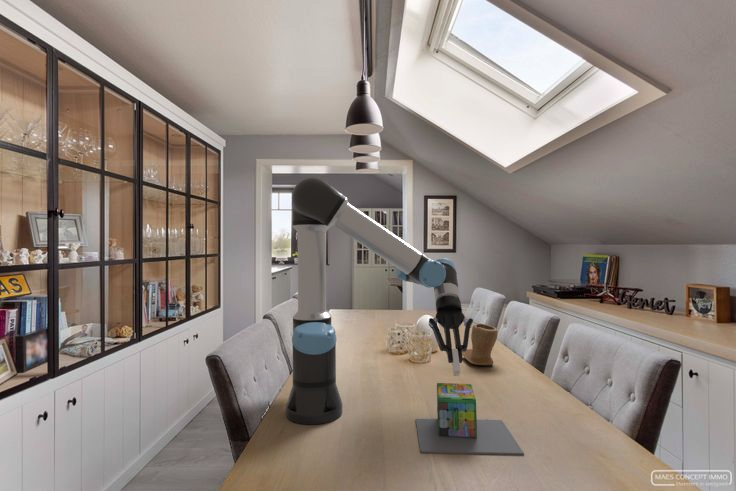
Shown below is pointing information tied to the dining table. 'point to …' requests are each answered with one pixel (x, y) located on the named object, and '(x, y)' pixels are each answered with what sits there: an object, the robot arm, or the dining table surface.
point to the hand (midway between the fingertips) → (457, 373)
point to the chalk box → (456, 410)
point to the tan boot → (481, 344)
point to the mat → (468, 439)
